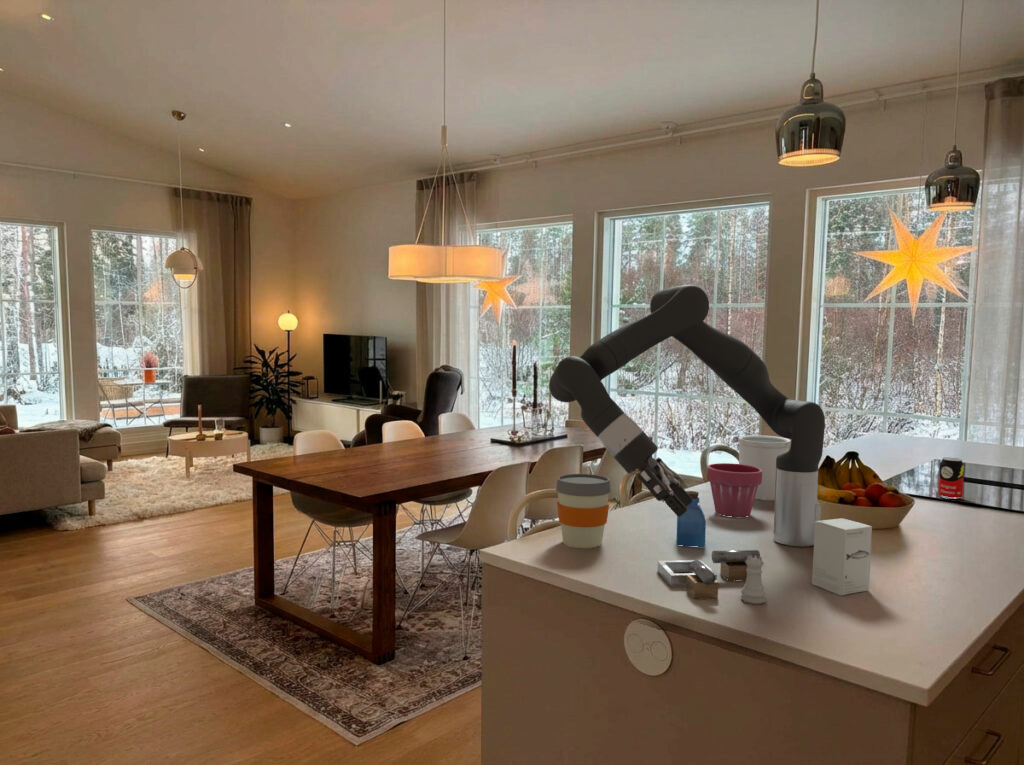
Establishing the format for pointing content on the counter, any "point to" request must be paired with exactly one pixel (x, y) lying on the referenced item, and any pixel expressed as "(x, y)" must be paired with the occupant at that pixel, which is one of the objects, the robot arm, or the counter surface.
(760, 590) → the rook chess piece
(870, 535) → the supplement box
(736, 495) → the plant pot
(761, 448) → the utensil holder
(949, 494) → the beverage can
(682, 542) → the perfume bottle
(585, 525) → the reusable coffee cup
